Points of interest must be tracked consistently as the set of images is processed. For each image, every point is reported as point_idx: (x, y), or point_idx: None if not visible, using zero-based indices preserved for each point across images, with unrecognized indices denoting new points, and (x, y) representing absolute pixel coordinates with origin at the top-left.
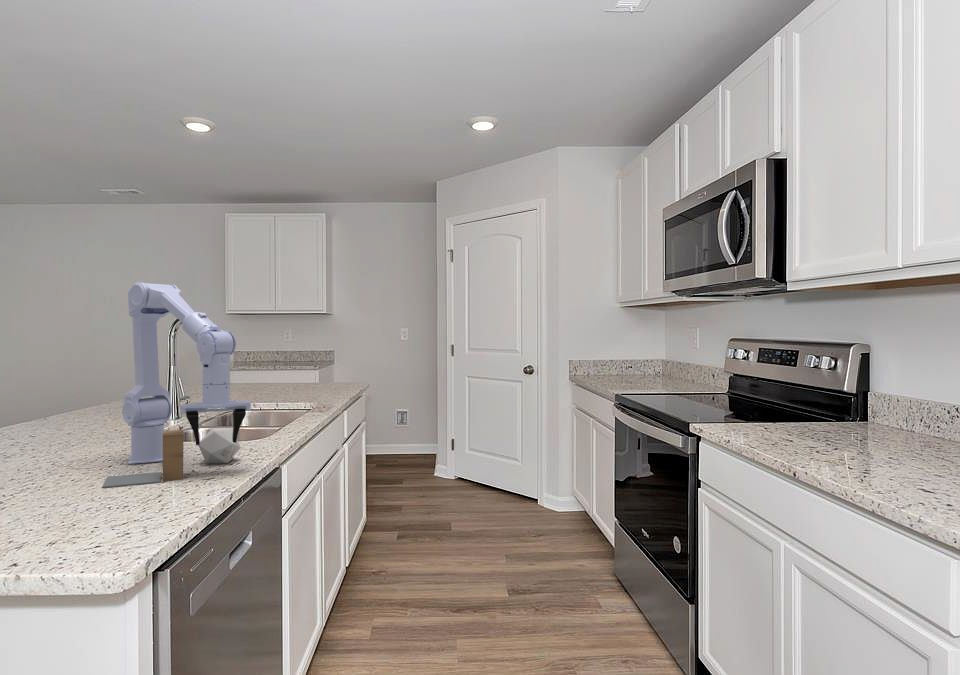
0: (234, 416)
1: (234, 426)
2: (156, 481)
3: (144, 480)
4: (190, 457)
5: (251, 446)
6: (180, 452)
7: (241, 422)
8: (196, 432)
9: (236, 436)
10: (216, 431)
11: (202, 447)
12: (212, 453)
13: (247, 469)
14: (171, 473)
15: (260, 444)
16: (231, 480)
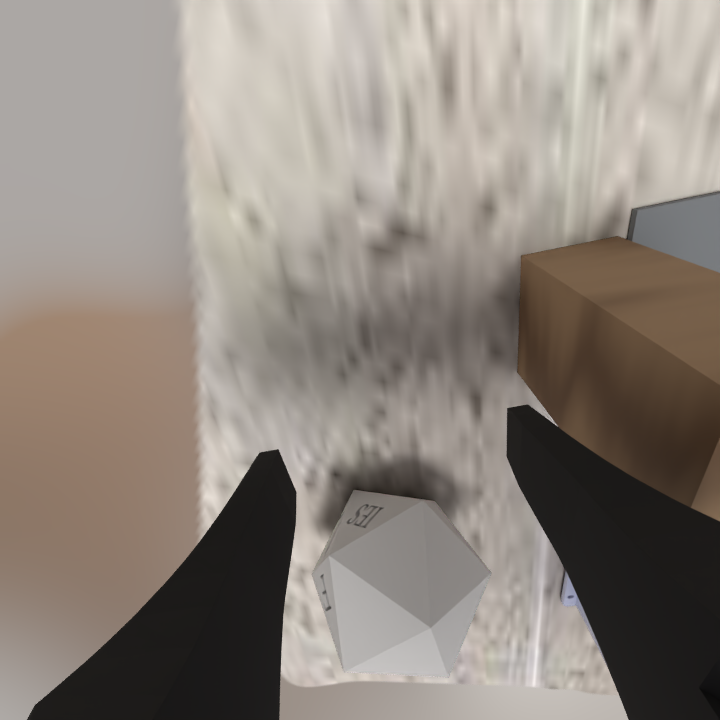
0: (190, 694)
1: (232, 557)
2: (655, 210)
3: (702, 247)
4: (489, 566)
5: (315, 646)
6: (629, 308)
7: (144, 607)
8: (588, 466)
9: (243, 482)
10: (420, 634)
11: (466, 546)
12: (416, 503)
13: (245, 387)
14: (598, 254)
15: (292, 660)
16: (267, 170)
